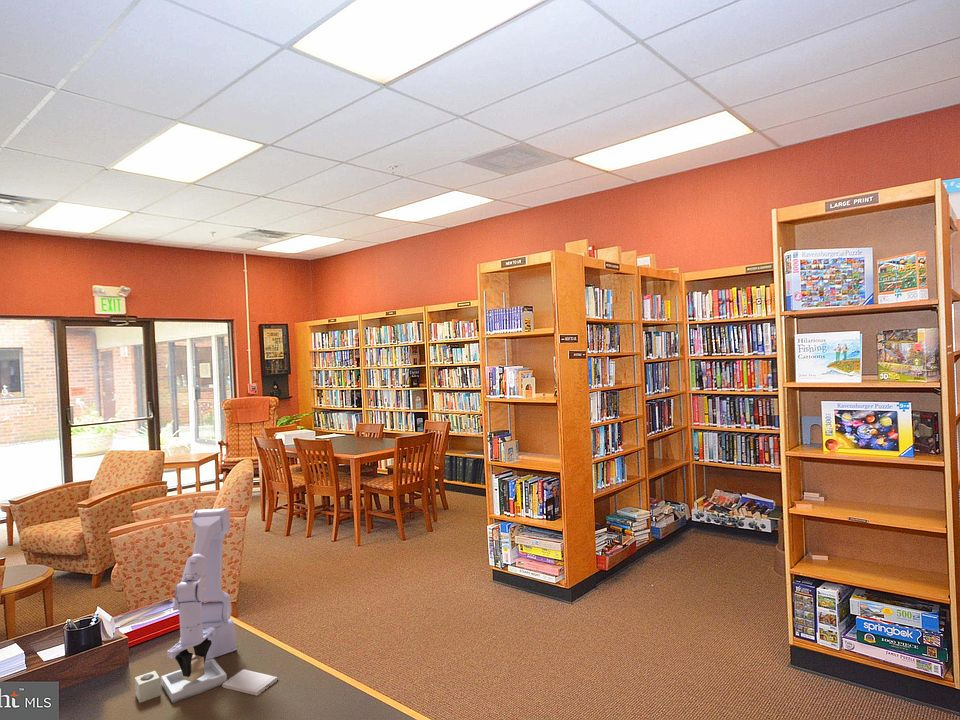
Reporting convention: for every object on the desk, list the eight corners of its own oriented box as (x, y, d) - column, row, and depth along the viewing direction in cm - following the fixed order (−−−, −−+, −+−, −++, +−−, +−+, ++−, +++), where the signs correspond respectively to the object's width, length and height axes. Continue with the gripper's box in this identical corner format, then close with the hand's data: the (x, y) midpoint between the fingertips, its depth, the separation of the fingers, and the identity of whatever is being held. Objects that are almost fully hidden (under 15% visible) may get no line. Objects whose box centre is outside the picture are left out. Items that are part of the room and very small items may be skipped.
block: (194, 671, 174) (193, 654, 174) (204, 674, 172) (203, 656, 172) (182, 679, 170) (181, 661, 170) (192, 681, 168) (191, 663, 168)
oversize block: (156, 688, 170) (155, 670, 170) (160, 695, 166) (159, 677, 166) (135, 695, 167) (134, 677, 166) (139, 703, 163) (138, 684, 163)
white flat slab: (222, 683, 169) (257, 691, 164) (244, 668, 177) (278, 675, 172) (222, 689, 169) (257, 697, 164) (244, 674, 177) (278, 681, 172)
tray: (213, 666, 180) (213, 658, 180) (226, 682, 171) (226, 674, 171) (161, 685, 171) (161, 676, 171) (172, 703, 162) (172, 693, 162)
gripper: (201, 610, 179) (204, 656, 179) (158, 633, 166) (160, 682, 166) (219, 614, 176) (222, 660, 176) (176, 637, 163) (179, 687, 163)
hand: (193, 671), depth 171 cm, fingers closed on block, 4 cm apart
